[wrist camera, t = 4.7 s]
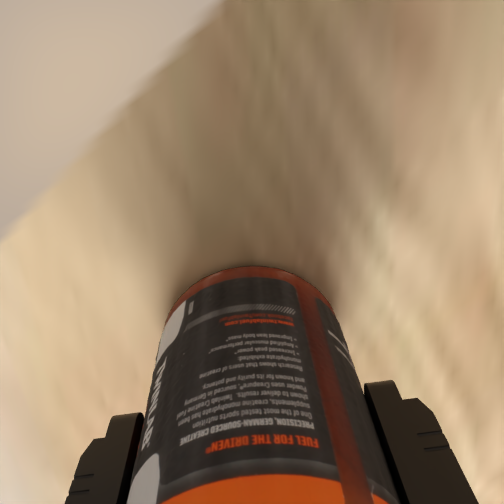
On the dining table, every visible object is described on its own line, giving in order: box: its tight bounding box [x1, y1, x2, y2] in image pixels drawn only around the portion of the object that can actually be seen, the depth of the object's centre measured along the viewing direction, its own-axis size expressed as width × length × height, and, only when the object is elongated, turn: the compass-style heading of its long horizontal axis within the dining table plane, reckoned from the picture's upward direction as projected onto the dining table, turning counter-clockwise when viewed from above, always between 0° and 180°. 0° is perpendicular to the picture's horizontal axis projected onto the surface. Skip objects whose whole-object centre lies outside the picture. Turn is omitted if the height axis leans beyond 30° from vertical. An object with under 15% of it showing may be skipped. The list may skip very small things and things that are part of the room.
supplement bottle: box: [126, 266, 401, 504], centre depth 11 cm, size 6×6×11 cm
